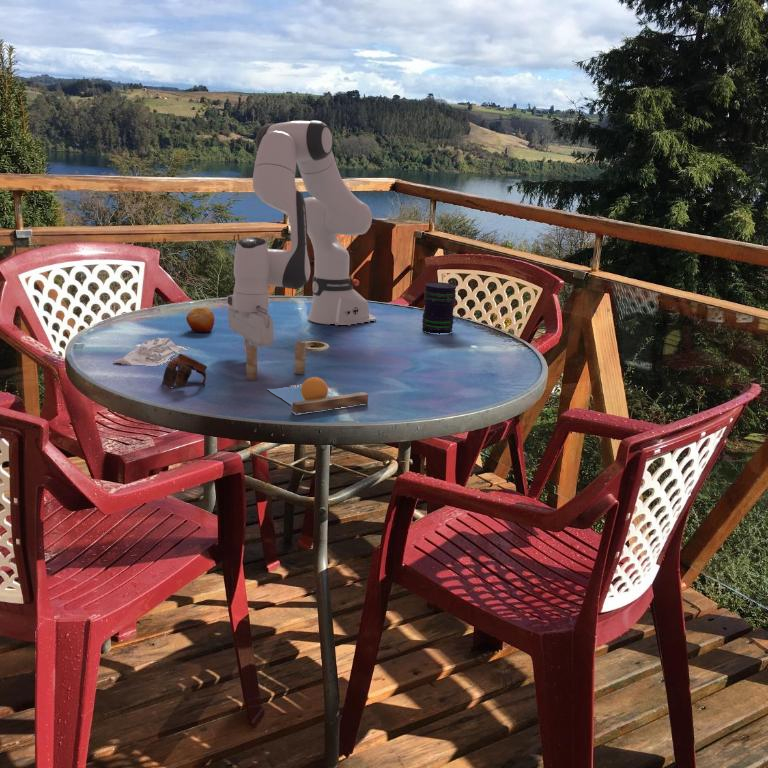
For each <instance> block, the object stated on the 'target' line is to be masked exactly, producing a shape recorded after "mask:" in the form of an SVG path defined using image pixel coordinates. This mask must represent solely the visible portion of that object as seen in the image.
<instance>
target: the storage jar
mask: <svg viewBox="0 0 768 768" xmlns="http://www.w3.org/2000/svg"><path fill="white" fill-rule="evenodd" d="M456 289H457V285H455V284H452V283H449V282H437V281H431V282H426V283H425V286H424V297H423V302H424V306H423V307H424V308H423V313H422V322H421V323H422V324H421V325H422V328H421V331H422V330H423V331H426V332H430V333H439V334H440V333H450V332H452V333H453V326H454V320H455V319H454V317H455V316H454V308H455V307H454V306H455V304H456V298H457V297H456V295H457V294H456V292H457V291H456ZM423 331H422V332H423Z"/></svg>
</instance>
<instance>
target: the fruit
mask: <svg viewBox="0 0 768 768" xmlns="http://www.w3.org/2000/svg"><path fill="white" fill-rule="evenodd" d="M185 319H186V323H187V325H188V326H189V328H190V330H191V331H192V332H193V331H194V333H209V332H211V331H212V330H213V328H214V325H215V316H214V312H213V311H211V309H210V308H208V307H195V308H193V309H191V310H190V311H189V312H188V314H187V315H186V318H185Z"/></svg>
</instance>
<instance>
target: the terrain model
mask: <svg viewBox="0 0 768 768" xmlns="http://www.w3.org/2000/svg"><path fill="white" fill-rule="evenodd" d="M182 346H183V345H176V344H175V343H174V342H173V341H172V340H171V338H170V337H156V338H153V339H150V340H146V341H144V342H142V343H141V344H140V346H139V347H138V348H136V349H135V350H132V351H130V352H129V353H126V354H125V356H123V357H124V358H123V357H122V358H119V359H116V360H114V361H112V362H113V364H114V363H115V364H127V365H126V366H134V365H146V366H145V367H147V366H157V365H160V364H161V365H162V364H163V363H166V362H167V361H170V359H169V358H170V357H171V356H173V355H175V354H178V353H180V352H178V351H179V350H188V349H189V348H188V349H186V348H184V347H185V346H183V347H182ZM174 353H175V354H174ZM168 359H169V360H168ZM166 364H167V363H166ZM162 366H163V365H162Z"/></svg>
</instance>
